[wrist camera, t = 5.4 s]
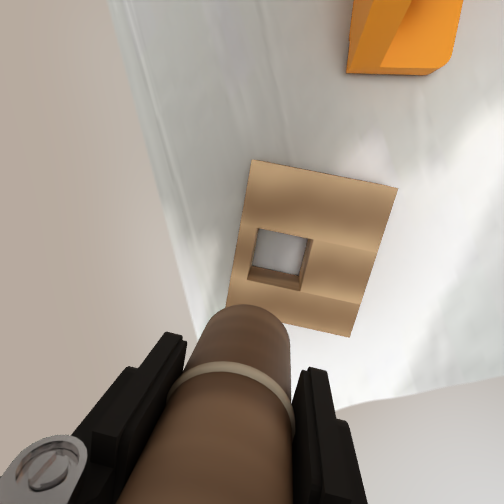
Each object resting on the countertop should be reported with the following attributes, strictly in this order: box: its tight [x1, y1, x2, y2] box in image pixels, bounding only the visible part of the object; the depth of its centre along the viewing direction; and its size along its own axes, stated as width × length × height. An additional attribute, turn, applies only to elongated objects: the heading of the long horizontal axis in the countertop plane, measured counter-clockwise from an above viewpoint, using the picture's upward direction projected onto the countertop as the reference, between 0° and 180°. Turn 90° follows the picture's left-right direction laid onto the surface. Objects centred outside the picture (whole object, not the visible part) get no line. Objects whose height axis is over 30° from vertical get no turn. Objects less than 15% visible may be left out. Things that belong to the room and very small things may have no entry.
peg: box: [116, 304, 295, 504], centre depth 8 cm, size 4×4×10 cm
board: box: [225, 160, 398, 338], centre depth 29 cm, size 14×12×4 cm
